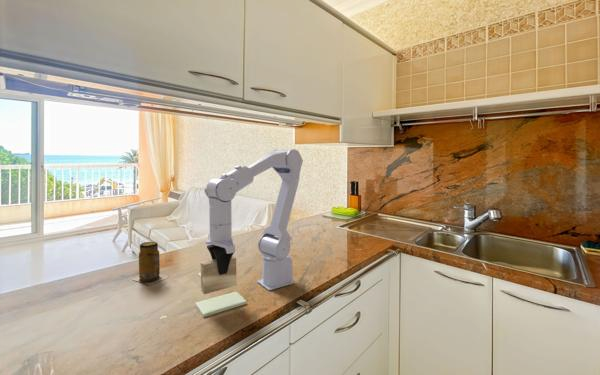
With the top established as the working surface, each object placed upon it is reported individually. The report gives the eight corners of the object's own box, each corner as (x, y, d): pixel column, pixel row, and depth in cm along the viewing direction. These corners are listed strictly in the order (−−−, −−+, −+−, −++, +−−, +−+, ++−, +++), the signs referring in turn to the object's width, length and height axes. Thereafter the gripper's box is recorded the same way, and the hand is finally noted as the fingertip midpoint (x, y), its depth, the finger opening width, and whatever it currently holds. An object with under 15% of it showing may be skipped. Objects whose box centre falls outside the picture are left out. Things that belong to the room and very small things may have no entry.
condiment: (152, 272, 98) (151, 239, 97) (169, 277, 94) (168, 243, 93) (132, 280, 92) (131, 244, 91) (148, 285, 88) (147, 248, 87)
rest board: (236, 294, 83) (236, 291, 83) (246, 303, 78) (246, 301, 78) (195, 305, 76) (195, 302, 76) (203, 317, 71) (203, 314, 71)
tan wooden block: (201, 290, 75) (200, 262, 74) (233, 282, 80) (232, 255, 79) (204, 294, 73) (203, 264, 72) (236, 285, 78) (236, 257, 77)
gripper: (197, 219, 79) (198, 266, 80) (215, 230, 67) (215, 285, 68) (221, 217, 83) (221, 261, 84) (242, 227, 71) (242, 278, 72)
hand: (220, 271), depth 76 cm, fingers closed on tan wooden block, 2 cm apart
